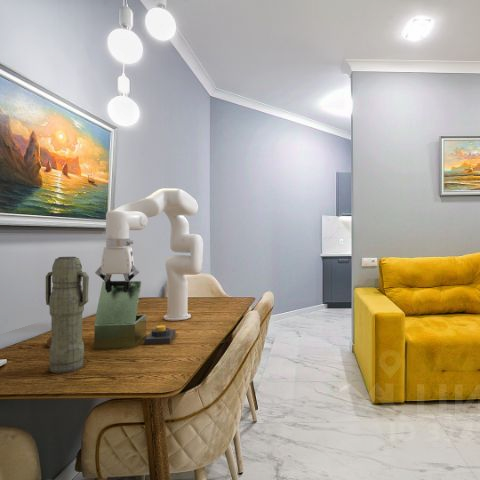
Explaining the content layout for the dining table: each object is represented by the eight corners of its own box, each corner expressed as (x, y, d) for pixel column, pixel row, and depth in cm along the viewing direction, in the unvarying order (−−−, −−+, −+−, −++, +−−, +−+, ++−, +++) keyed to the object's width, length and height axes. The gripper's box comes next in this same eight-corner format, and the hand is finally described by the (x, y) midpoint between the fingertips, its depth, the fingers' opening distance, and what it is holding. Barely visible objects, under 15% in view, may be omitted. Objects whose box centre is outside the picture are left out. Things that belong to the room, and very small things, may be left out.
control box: (152, 335, 146) (152, 326, 146) (175, 334, 148) (175, 325, 148) (144, 344, 134) (144, 334, 134) (169, 343, 136) (169, 333, 136)
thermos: (82, 371, 108) (82, 258, 107) (37, 374, 105) (38, 258, 105) (93, 361, 117) (94, 256, 116) (53, 363, 114) (53, 256, 113)
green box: (110, 336, 143) (110, 315, 143) (146, 335, 146) (146, 314, 146) (94, 349, 128) (94, 325, 128) (134, 347, 131) (134, 324, 131)
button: (157, 329, 142) (157, 325, 142) (166, 329, 143) (166, 325, 143) (155, 332, 139) (155, 327, 139) (164, 331, 140) (164, 327, 140)
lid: (103, 282, 136) (98, 277, 131) (141, 281, 138) (138, 276, 134) (94, 324, 128) (89, 320, 123) (135, 323, 131) (131, 319, 126)
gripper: (145, 243, 137) (145, 289, 137) (96, 243, 133) (96, 290, 134) (139, 244, 129) (139, 293, 130) (87, 243, 126) (87, 294, 126)
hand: (117, 291), depth 132 cm, fingers closed on lid, 5 cm apart
